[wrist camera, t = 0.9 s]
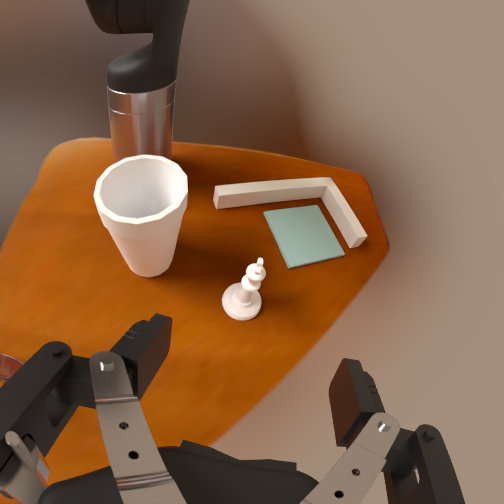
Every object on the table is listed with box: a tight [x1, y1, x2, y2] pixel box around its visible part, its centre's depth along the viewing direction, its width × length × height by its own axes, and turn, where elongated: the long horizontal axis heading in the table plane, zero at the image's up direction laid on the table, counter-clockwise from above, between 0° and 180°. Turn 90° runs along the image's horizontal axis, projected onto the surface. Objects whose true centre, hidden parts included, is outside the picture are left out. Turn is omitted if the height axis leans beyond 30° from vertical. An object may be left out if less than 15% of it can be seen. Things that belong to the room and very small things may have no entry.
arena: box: [213, 177, 367, 269], centre depth 43 cm, size 14×21×3 cm, turn 110°
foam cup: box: [94, 155, 188, 277], centre depth 31 cm, size 10×9×13 cm
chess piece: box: [222, 258, 266, 320], centre depth 31 cm, size 5×5×10 cm
